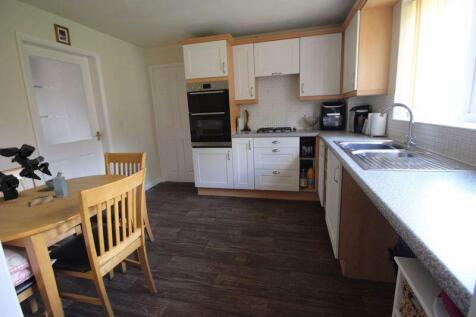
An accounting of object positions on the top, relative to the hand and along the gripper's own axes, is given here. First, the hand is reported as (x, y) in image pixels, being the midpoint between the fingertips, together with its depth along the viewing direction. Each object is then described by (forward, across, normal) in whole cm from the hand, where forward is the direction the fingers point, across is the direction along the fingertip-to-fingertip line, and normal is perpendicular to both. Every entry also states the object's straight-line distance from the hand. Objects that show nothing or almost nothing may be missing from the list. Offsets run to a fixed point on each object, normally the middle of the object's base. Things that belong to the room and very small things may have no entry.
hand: (46, 177), depth 150 cm
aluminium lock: (+15, 0, +4) cm, 15 cm away
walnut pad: (+10, -9, +8) cm, 16 cm away
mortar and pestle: (+4, +16, +15) cm, 22 cm away
